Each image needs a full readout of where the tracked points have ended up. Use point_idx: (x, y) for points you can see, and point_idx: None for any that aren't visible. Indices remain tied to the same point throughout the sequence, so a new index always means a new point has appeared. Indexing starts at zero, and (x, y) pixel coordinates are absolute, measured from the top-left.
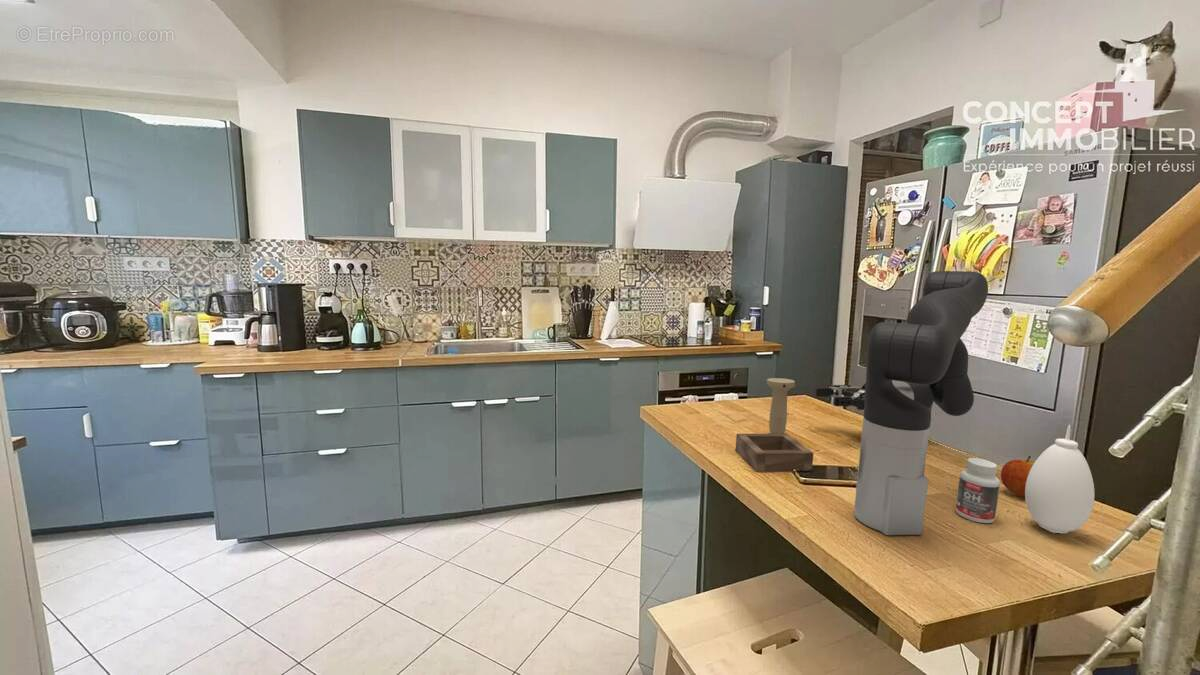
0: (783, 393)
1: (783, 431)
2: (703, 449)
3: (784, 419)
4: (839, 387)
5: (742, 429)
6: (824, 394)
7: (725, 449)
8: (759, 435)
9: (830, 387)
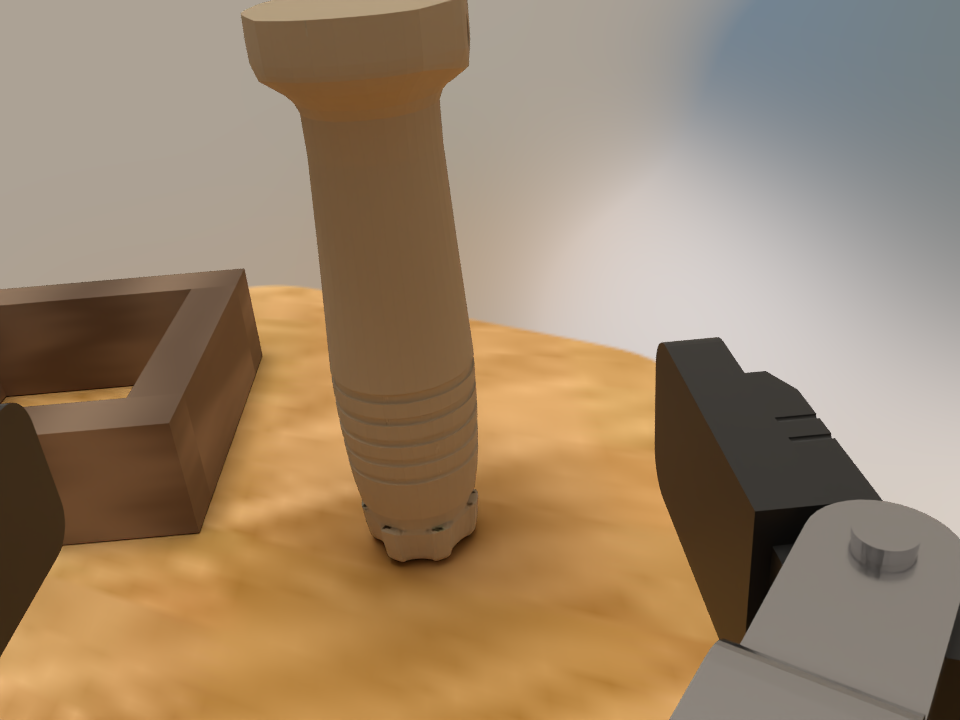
0: (304, 134)
1: (358, 483)
2: (301, 287)
3: (336, 387)
4: (720, 641)
5: (636, 412)
6: (700, 548)
7: (284, 332)
8: (183, 322)
9: (814, 512)
